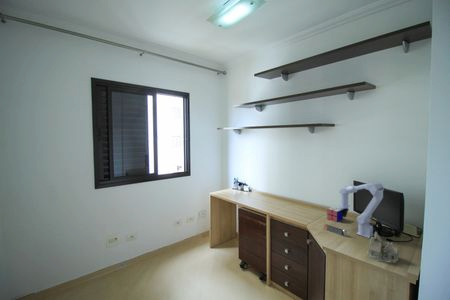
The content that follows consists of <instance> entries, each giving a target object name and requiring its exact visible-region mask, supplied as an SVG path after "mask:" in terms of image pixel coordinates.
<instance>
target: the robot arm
mask: <svg viewBox="0 0 450 300" xmlns="http://www.w3.org/2000/svg"><path fill="white" fill-rule="evenodd" d="M384 188H385V187H384V186H383V184H382V183H380V182H369V183H364V184H360V185H355V184H354V185H353V184H350V185H349V186H345V187H340V189H339V193H340V205H338V206H339V210H341V212H342V216H343V218H346V217H347V215H348V212H349V210H350V209H349V208H350V204H349V195H350V194H353V193H357V192H358V191H359V190H368V191H369V193H370V194H371V195H372V199H371V200H370V202H369V203H368V204H367V206H366V208H365V209H364V211H363V212H362V213H360V215H358V216H356V222H357V224H358V225H357V227H358V229H357V231H358V232H356V233H355V234H356V235H359V236H362V237H365V238H368V239H371V237H373V236H374V227H373V225H371V224H370V222H371V220H372V216H373V214H374V211H375V210H376V209H377V207H378V206H379V204H380V203H381V201H382V200H383V198H384Z"/></svg>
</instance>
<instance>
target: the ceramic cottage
mask: <svg viewBox="0 0 450 300" xmlns="http://www.w3.org/2000/svg"><path fill="white" fill-rule="evenodd" d="M366 251H367V252H366V255H367V256H368V257H369V259H370V258H372V259H374V260H373V261H375V260H378V261H377V262H379V261H396V260H397V259H399V249H398V248H397V247H394V244H393V242H387V241H383V240H382V238H381V237H380V235H379V234H378V231H374V237H373V236H371V237H370V240H369V247H368V249H367V250H366ZM367 256H366V257H367ZM368 257H367V258H368ZM372 259H371V260H372Z"/></svg>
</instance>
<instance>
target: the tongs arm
mask: <svg viewBox="0 0 450 300" xmlns="http://www.w3.org/2000/svg"><path fill="white" fill-rule="evenodd" d="M324 225H327V226H330V227H333V228H336V229H339V230H342V231H343V230H344V229H342V228H339V227H336V226H333V225H331V224H330V225H329V224H327V223H326V224H324Z"/></svg>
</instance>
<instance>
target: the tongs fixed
mask: <svg viewBox="0 0 450 300" xmlns="http://www.w3.org/2000/svg"><path fill="white" fill-rule="evenodd" d="M327 225H328V224H327ZM327 225H325V224H324V225H323V230H324V231H328V232H331V233H333V234H336V235H340V236H343V237H347V234H348V233H347V229H342V230H343V231H342V230H339V229H340V228H339V229H336V228H337V227H336V228H333V227H334V226H333V227H330V226H331V225H330V226H327Z"/></svg>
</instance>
